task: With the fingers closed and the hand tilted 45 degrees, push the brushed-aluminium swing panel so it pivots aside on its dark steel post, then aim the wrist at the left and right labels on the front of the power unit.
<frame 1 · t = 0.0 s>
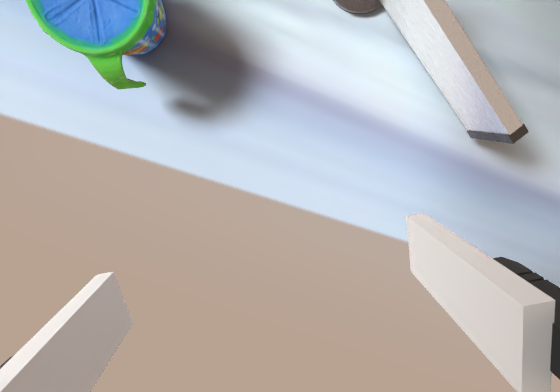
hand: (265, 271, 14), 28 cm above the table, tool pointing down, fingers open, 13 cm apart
swing panel: (446, 57, 33), point 5 cm above the table, hinge at 0.0°
snack cup: (135, 20, 36), on the table
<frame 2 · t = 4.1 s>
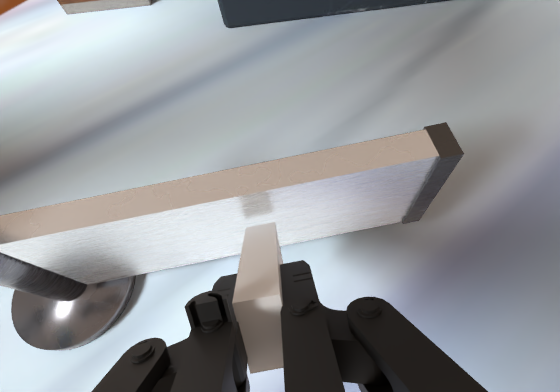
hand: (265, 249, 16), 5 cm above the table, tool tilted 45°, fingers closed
swing panel: (238, 217, 17), point 6 cm above the table, hinge at 0.2°, touching gripper
panel post: (79, 286, 22), on the table
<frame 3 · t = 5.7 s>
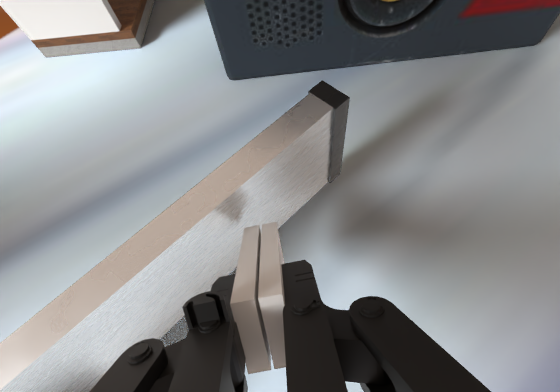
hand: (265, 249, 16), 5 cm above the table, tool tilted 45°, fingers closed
swing panel: (192, 256, 16), point 5 cm above the table, hinge at 33.9°, touching gripper
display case: (107, 20, 37), on the table
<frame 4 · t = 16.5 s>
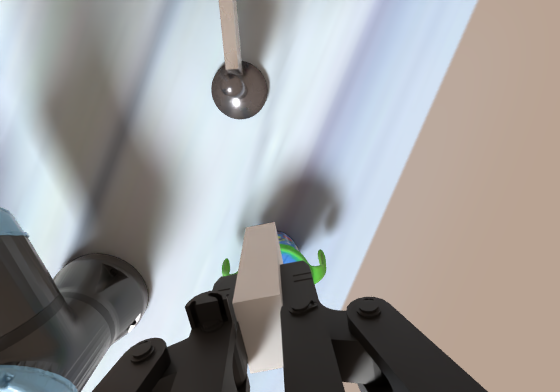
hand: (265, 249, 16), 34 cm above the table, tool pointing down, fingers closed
panel post: (239, 91, 47), on the table
snack cup: (273, 250, 54), on the table
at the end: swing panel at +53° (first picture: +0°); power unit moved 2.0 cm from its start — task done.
